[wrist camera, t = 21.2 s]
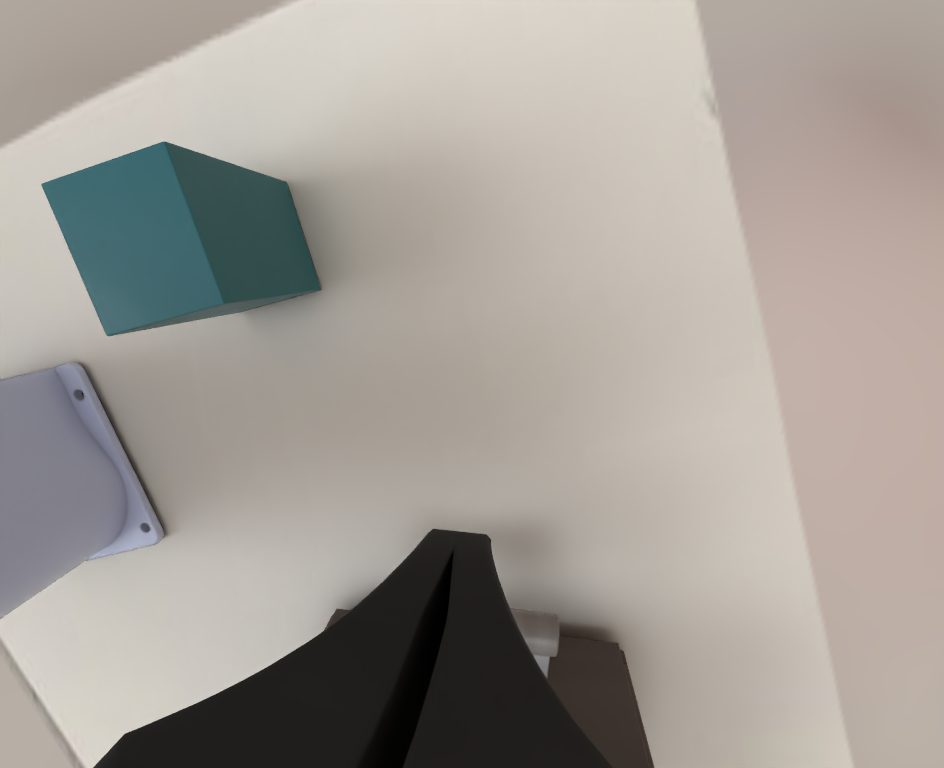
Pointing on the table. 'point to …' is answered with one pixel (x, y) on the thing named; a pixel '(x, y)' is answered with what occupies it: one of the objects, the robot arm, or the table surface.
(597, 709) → the drawer
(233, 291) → the teal rectangular block
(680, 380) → the table surface
